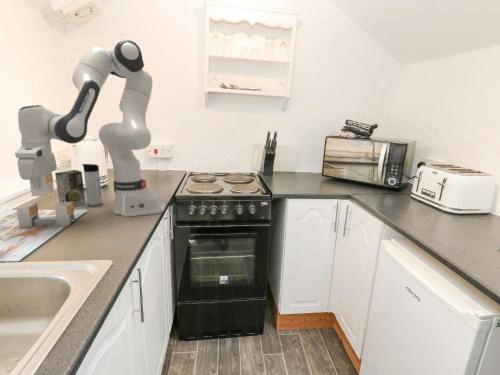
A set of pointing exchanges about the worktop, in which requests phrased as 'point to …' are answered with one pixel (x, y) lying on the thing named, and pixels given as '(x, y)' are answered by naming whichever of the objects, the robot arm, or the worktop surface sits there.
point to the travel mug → (92, 185)
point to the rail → (31, 217)
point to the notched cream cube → (43, 185)
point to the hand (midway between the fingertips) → (42, 186)
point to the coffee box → (70, 187)
